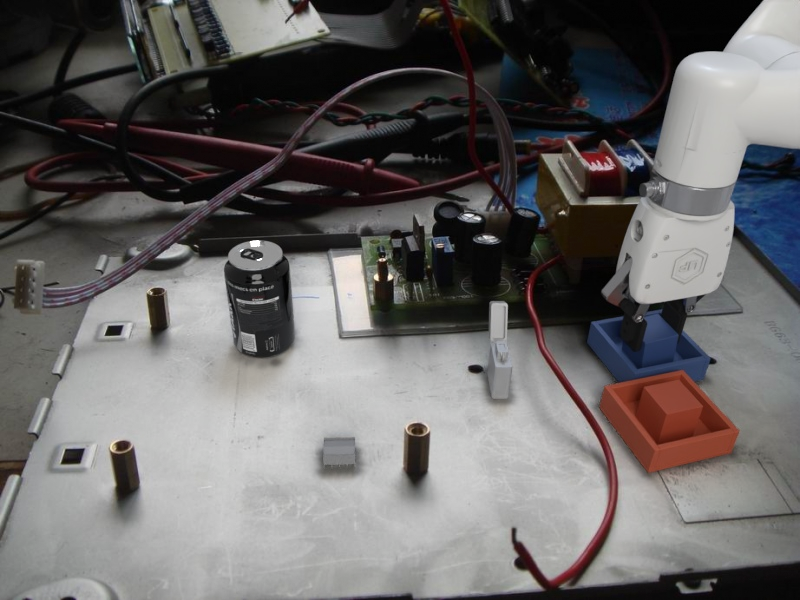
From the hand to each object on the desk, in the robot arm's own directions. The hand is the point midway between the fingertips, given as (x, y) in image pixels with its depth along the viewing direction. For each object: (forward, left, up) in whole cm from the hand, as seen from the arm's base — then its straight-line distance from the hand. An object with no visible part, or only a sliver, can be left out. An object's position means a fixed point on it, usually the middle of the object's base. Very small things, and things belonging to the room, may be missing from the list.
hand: (649, 338), depth 82 cm
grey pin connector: (+36, +5, -3) cm, 36 cm away
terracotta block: (+4, +10, -3) cm, 11 cm away
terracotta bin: (+4, +10, -3) cm, 11 cm away
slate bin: (0, 0, -3) cm, 3 cm away
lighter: (+17, -2, -3) cm, 17 cm away
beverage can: (+40, -14, -3) cm, 42 cm away
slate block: (0, 0, -2) cm, 2 cm away
